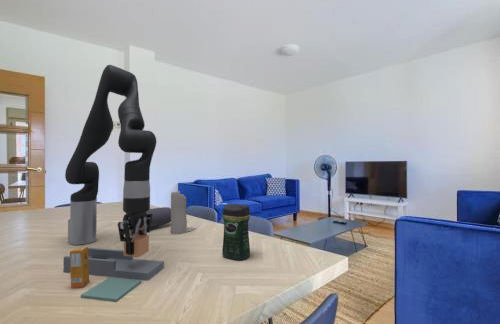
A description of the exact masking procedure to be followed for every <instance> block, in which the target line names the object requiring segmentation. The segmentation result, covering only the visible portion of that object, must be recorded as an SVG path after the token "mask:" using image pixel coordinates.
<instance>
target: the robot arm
mask: <svg viewBox="0 0 500 324" xmlns="http://www.w3.org/2000/svg"><path fill="white" fill-rule="evenodd" d="M110 93H112V94H116V95H118V96H122V97H125V99H124V100H123V101H122V102H120V104H119V106H118V109H117V116H118V120H119V124H120V131H119V135H118V141H117V142H118V143H117V144H118V147H119V148H120V150H121V151H122V152H125V153H130V154H131V153H133V154H141V156H140V157H139V158H138V159H134V160H130V161H129V160H128V161H127V162H125V164H124V176H123V177H124V182H123V187H122V189H123V190H122V191H123V192H122V193H123V194H122V210H123V212H124V213H125V214H126V218H125V221H123V220H122V221H123V222H122V221H118V222H117V228H118V229H117V230H118V234H119V235H118V236H119V241H120V242H123V243H124V242H126V254H127V255H133V254H134V239H135V235H136V234H137V235H148V233H150V232H151V230H150V229H151V222H152V214H149V213H147V212H146V211H149V210H150V209H151V184H150V179H151V178H150V170H151V163H152V161H153V160H152V159H153V157H154V152H155V149H156V147H157V146H156V145H157V137H156V135H155V133H154V132H153V131H152V130H151V131H150V130H144V129H145V120H144V117H143V113H142V111H141V107H140V101H139V100H140V99H139V97H140V96H139V85H138V79H137V77H136V75H135V74H134V73H133V72H130V71H128V70H125V69H123V68H121V67H117V66H115V65H113V64H108V65H106V66H105V67H104V69H103V71H102V73H101V76H100V79H99V83H98V86H97V90H96V93H95V98H94V100H93V102H92V103H93V104H92V106H91V109H90V111H89V113H88V116H87V117H86V121H85V124H84V126H83V129H82V132H81V135H80V138H79V141H78V143H77V145H76V147H75V150H74V152H73V154H72V156H71V158H70V159H69V162H68V164H67V166H66V168H65V173H64V177H65V181H66V183H68V184H70V185H83V187H82V188H81V189H80V190H77V191H75V192H73V193H71V194H70V197H69V198H70V203H69V204H70V213H69V214H70V215H69V219H68V220H67V243H68V244H70V245H75V246H79V245H87V244H88V245H89V244H91V243H94V242H96V241H97V229H98V227H97V224H98V223H97V221H98V220H97V218H98V217H97V216H98V215H97V214H98V211H97V205H98V201H97V200H98V198H97V197H98V195H99V184H100V183H99V182H100V168H99V166H98V164H97V163H96V162H94V161H88V160H89V158H90V157H91V156H92V155H93V154H94V153H96V152H97V151H99V150H100V149H101V148H102V147H103V146H105V145H106V144H107V142H108V141H109V139H110V136H111V135H112V132H113V129H114V121H113V117H112V115H111V111H110V109H109V102H108V99H109V95H110ZM147 220H148V221H147ZM147 225H148V227H147ZM129 229H130V230H134V231H130V230H129ZM130 236H131V238H130Z"/></svg>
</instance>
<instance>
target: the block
mask: <svg viewBox="0 0 500 324" xmlns="http://www.w3.org/2000/svg"><path fill="white" fill-rule="evenodd" d="M130 238H131V235H130ZM149 242H150V236H149V235H148V234H147V235H138V233H137V234H136V235H135V239H134V254H133V255H127V254H126V242H123V250H124V256H131V257H133V258H140V257H142V256H143V255H145V254H147V253H149V247H150V246H149V245H150V244H149Z"/></svg>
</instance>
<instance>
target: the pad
mask: <svg viewBox="0 0 500 324" xmlns="http://www.w3.org/2000/svg"><path fill="white" fill-rule="evenodd" d="M141 283H142V280H138V279H128V278H118V277H108V278H106V279H105V280H103V281H101V282H99V283H98V284H95V285H94V286H93V287H92V288H89V289H88V290H87V291H85V292H83V293H82V294H80V298H83V299H91V300H92V299H93V300H97V301H105V302H106V301H109V302H114V303H115V302H118V301H120V300H121V299H122V298H123V297H125V296H127V294H129V293H131V291H132V290H134V289H135V288H136V287H138V286H139V285H140V284H141Z"/></svg>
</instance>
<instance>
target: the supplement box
mask: <svg viewBox="0 0 500 324" xmlns="http://www.w3.org/2000/svg"><path fill="white" fill-rule="evenodd" d="M88 248H89V246H78V247H75V248H73V249H72V250H70V251H69V256H70V289H79V288H85V286H87V284H88V283H90V275H89V258H88Z"/></svg>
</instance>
